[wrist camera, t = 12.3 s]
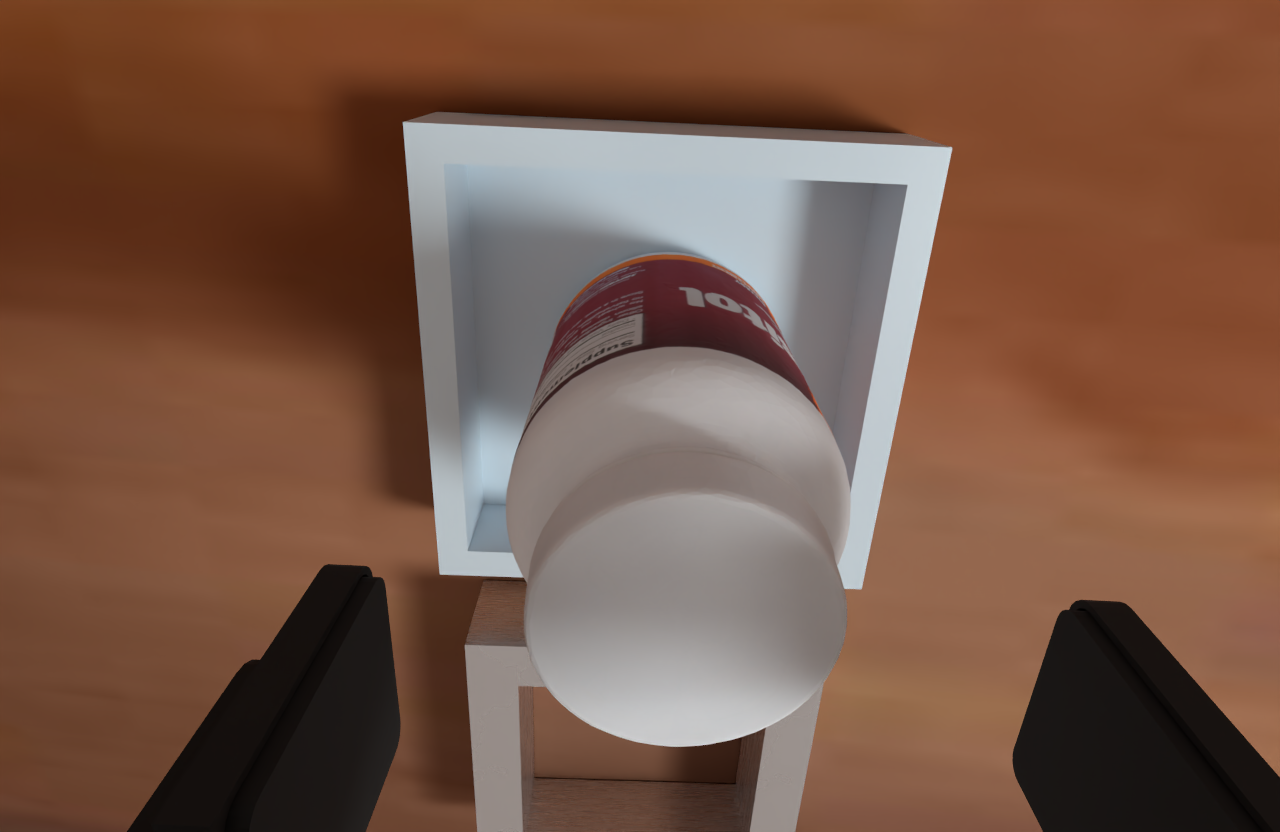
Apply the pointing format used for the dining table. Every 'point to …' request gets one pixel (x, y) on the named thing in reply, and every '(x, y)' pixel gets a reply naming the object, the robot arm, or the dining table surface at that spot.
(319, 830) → the robot arm
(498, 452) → the tray
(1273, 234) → the dining table surface
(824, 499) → the pill bottle
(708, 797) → the holder
